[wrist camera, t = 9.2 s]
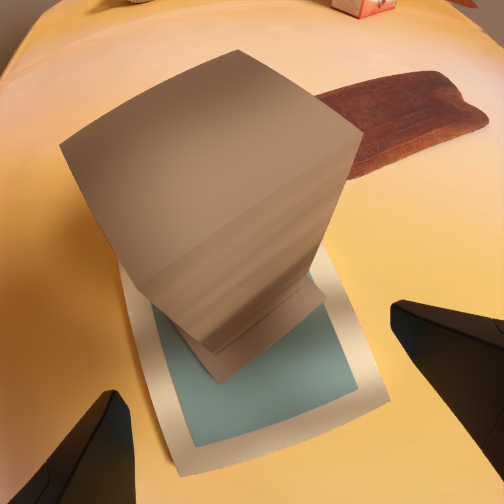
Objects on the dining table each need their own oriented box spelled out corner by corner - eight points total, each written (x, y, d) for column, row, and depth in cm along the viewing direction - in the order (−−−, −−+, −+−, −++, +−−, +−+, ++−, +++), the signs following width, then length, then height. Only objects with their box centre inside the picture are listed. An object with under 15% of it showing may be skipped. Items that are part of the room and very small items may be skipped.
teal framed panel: (382, 400, 16) (391, 400, 15) (184, 472, 14) (179, 477, 13) (294, 200, 21) (296, 189, 20) (122, 255, 20) (115, 247, 18)
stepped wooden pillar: (323, 302, 17) (423, 156, 6) (221, 384, 15) (141, 379, 4) (243, 215, 19) (232, 30, 8) (147, 283, 18) (28, 139, 7)
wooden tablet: (434, 74, 30) (438, 64, 29) (490, 129, 26) (496, 119, 25) (241, 118, 25) (240, 103, 24) (303, 205, 22) (307, 192, 20)
